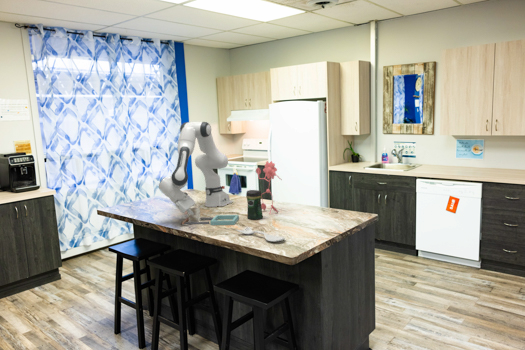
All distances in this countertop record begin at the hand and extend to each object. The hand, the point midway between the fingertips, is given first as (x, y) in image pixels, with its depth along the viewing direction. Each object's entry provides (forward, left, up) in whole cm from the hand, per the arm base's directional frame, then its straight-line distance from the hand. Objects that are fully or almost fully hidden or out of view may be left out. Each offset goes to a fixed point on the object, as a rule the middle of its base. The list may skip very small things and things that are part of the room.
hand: (195, 213), depth 262 cm
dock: (-10, +17, -6) cm, 20 cm away
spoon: (+5, +58, -6) cm, 58 cm away
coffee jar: (-26, +28, -6) cm, 39 cm away
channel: (-1, +2, -6) cm, 6 cm away
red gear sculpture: (-46, +27, -6) cm, 54 cm away
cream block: (0, -1, -6) cm, 6 cm away
